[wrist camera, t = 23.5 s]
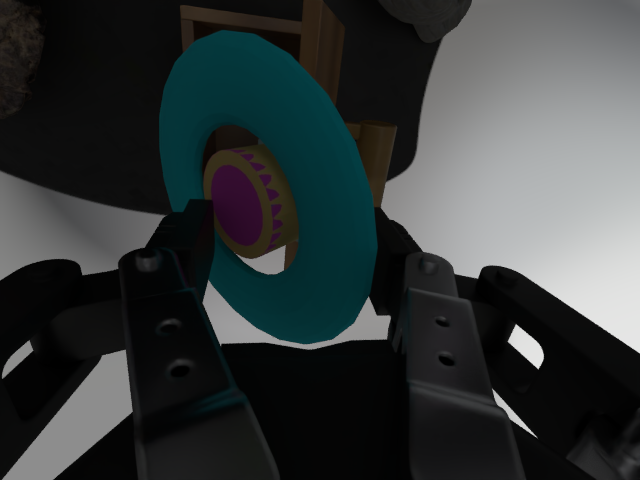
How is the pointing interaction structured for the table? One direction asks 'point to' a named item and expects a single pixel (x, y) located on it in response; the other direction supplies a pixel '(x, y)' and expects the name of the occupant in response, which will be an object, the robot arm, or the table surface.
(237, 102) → the ornament
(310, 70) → the lid
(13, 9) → the rock
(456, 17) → the figurine
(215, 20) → the wooden box
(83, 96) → the table surface
